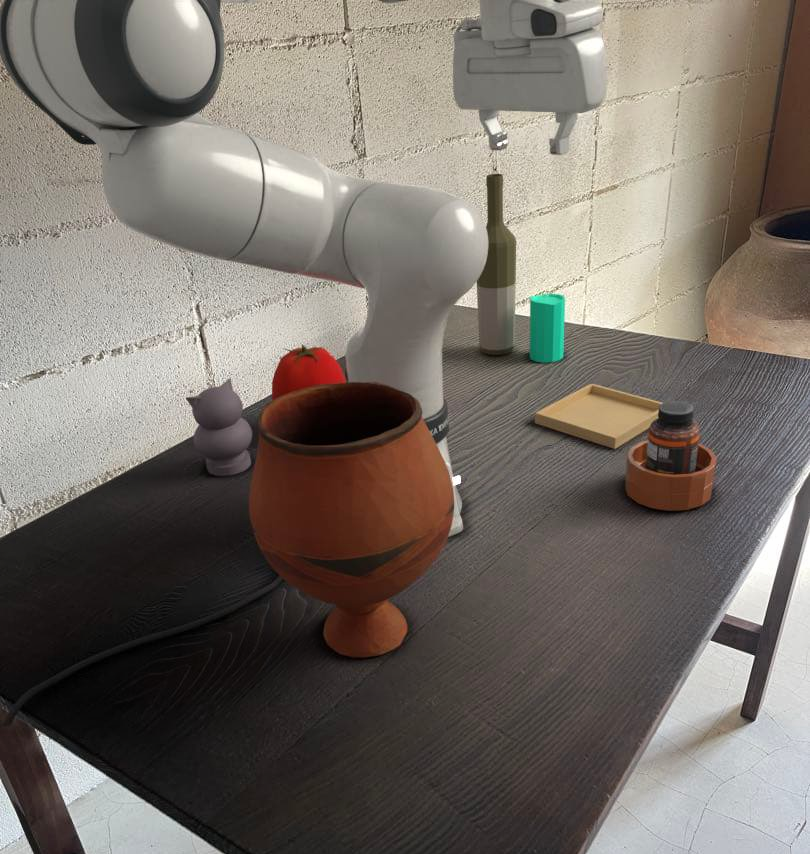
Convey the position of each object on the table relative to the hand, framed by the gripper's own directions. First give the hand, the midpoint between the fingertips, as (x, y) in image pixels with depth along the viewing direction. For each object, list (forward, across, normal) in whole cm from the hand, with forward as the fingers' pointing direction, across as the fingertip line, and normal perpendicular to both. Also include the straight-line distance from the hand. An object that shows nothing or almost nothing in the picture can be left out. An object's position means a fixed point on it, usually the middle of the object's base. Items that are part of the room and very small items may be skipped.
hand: (528, 151), depth 98 cm
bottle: (+41, -29, +22) cm, 55 cm away
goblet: (+34, +16, -47) cm, 60 cm away
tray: (+40, +3, +10) cm, 41 cm away
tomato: (+37, -29, -20) cm, 51 cm away
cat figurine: (+35, -28, -36) cm, 58 cm away
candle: (+42, -20, +25) cm, 52 cm away
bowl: (+38, +23, -3) cm, 45 cm away
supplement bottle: (+38, +23, -3) cm, 45 cm away
